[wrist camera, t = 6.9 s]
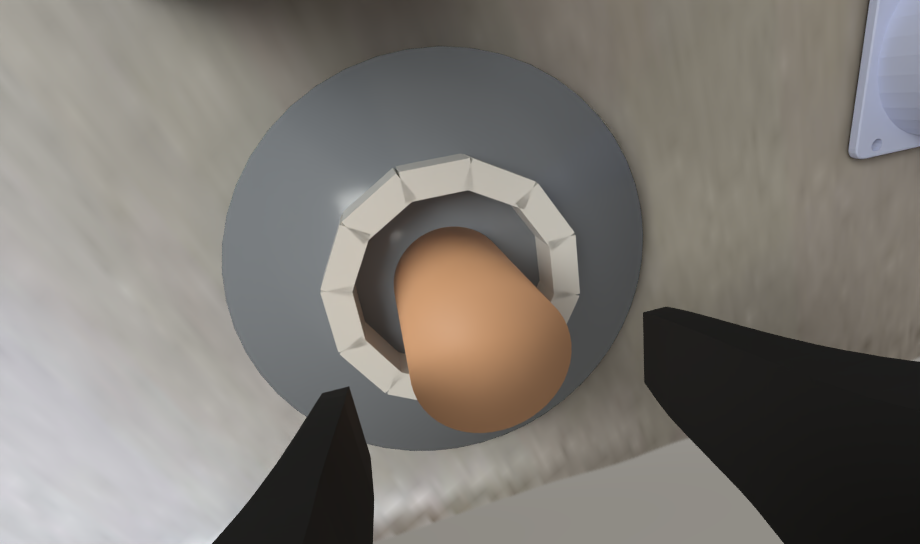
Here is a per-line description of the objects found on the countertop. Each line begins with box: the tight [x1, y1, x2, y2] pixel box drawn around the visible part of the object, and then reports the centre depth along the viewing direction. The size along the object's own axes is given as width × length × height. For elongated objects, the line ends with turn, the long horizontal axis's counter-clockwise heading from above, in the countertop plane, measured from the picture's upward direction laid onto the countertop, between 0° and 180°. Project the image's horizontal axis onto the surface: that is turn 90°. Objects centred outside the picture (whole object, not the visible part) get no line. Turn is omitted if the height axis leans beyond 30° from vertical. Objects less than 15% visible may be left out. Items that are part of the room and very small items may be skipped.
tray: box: [222, 46, 643, 451], centre depth 17 cm, size 16×16×2 cm
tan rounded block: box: [394, 227, 572, 433], centre depth 15 cm, size 4×4×6 cm
